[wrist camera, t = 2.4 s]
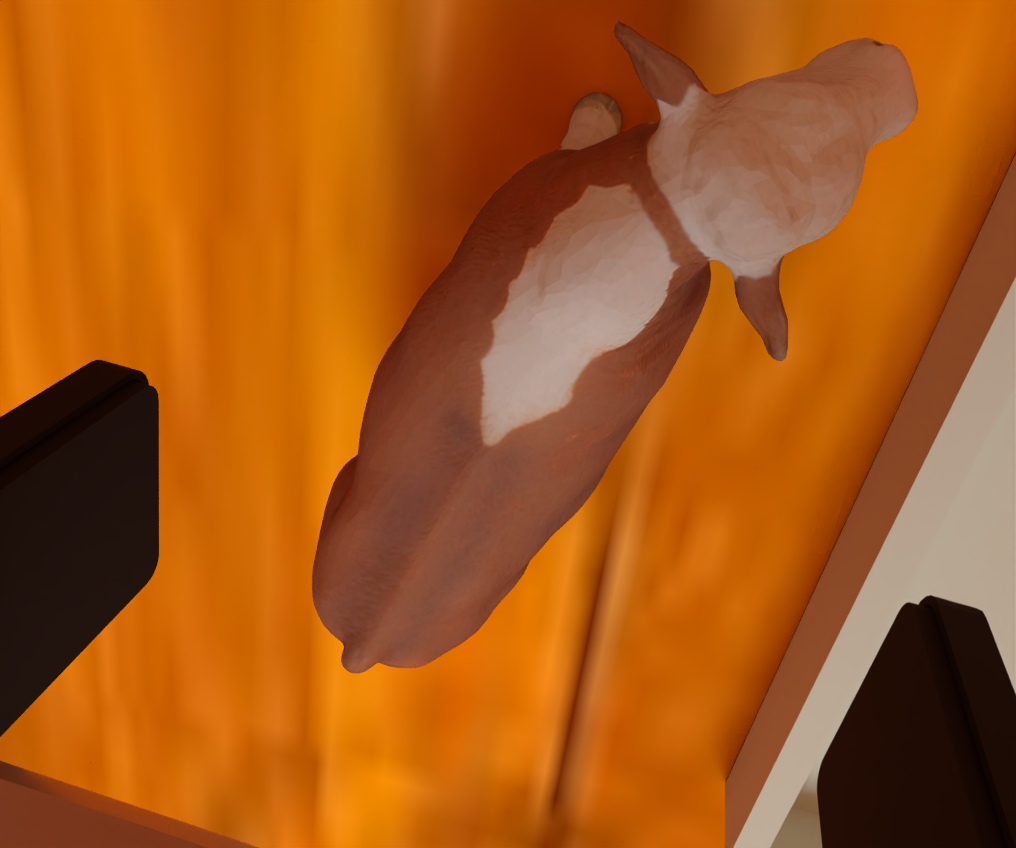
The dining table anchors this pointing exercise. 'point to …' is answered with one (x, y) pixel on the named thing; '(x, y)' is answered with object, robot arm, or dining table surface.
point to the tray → (902, 543)
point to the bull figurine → (578, 329)
